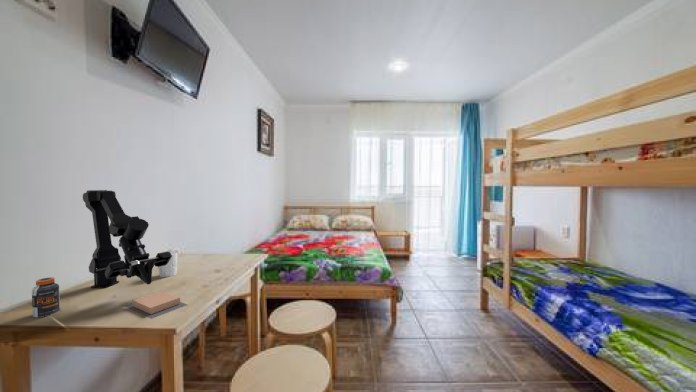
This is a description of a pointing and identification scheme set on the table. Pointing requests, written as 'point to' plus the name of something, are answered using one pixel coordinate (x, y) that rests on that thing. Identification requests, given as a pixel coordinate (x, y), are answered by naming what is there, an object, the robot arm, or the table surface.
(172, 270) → the white cup
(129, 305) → the mat
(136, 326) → the table surface
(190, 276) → the table surface
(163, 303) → the tile
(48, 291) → the pill bottle
